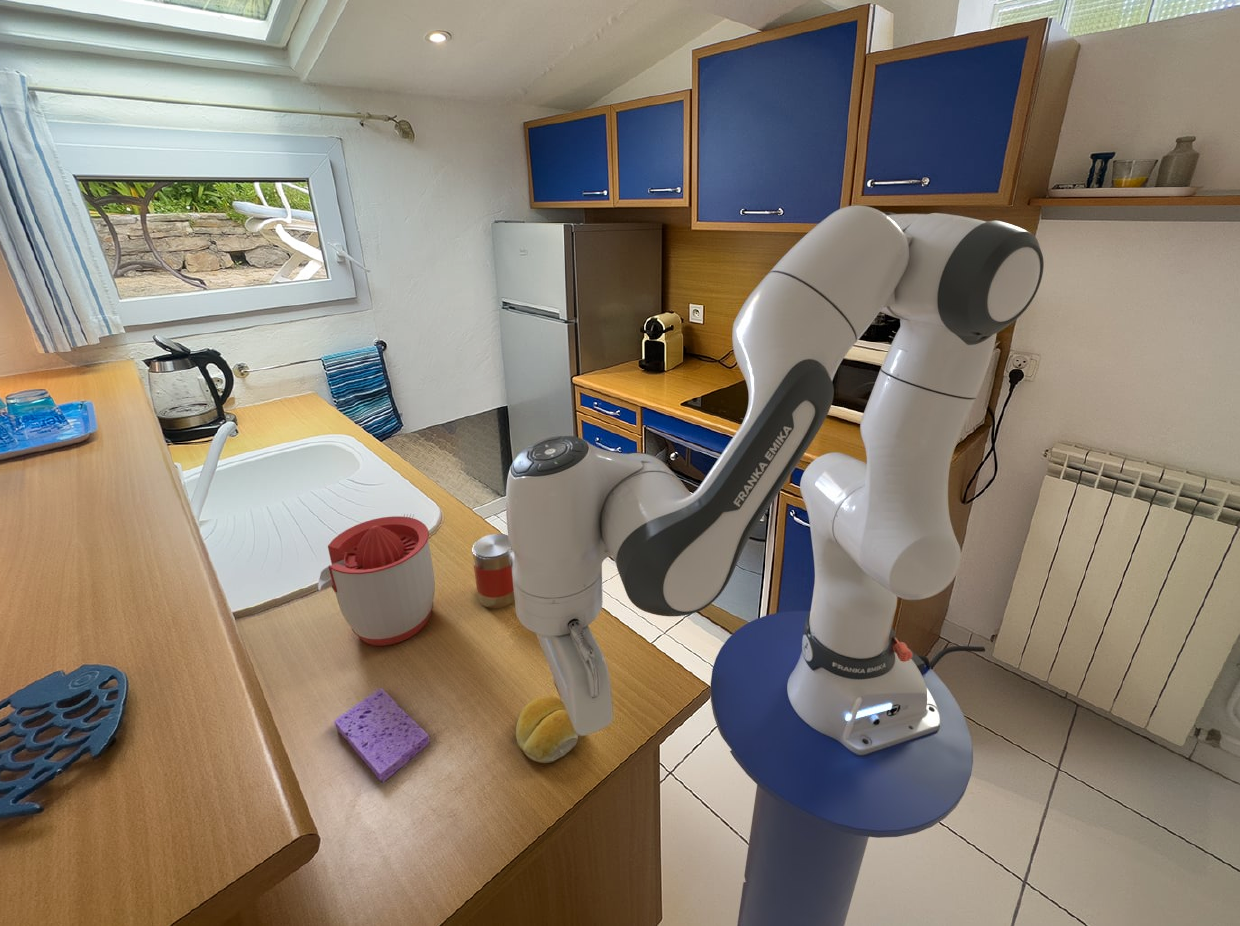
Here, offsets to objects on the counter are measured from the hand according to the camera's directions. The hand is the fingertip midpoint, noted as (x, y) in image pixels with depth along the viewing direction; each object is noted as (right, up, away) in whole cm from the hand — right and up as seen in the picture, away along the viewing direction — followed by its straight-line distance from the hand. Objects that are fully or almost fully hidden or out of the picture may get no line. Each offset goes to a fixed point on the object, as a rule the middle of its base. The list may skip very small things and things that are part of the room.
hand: (565, 690), depth 60 cm
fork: (-46, +4, +57) cm, 73 cm away
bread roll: (-5, -14, +16) cm, 22 cm away
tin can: (-19, -3, +42) cm, 46 cm away
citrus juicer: (-36, -6, +35) cm, 50 cm away
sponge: (-28, -14, +15) cm, 35 cm away
